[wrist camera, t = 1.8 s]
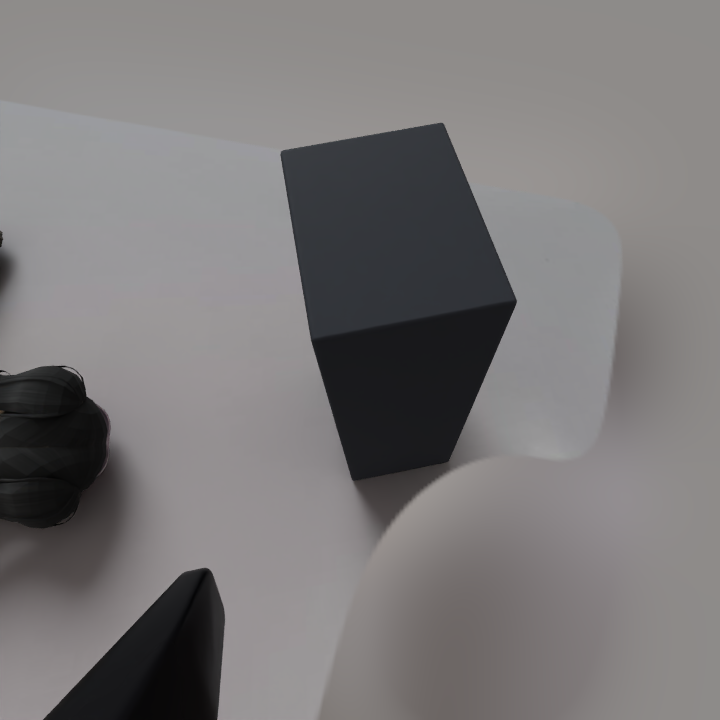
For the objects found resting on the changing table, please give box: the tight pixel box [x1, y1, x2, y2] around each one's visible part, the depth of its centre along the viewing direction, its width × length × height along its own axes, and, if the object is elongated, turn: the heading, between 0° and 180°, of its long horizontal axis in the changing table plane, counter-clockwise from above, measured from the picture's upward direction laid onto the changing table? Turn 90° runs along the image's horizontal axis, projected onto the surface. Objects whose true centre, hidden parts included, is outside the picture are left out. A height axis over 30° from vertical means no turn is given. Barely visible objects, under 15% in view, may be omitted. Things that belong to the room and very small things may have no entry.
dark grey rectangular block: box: [281, 123, 517, 481], centre depth 17 cm, size 6×4×13 cm
